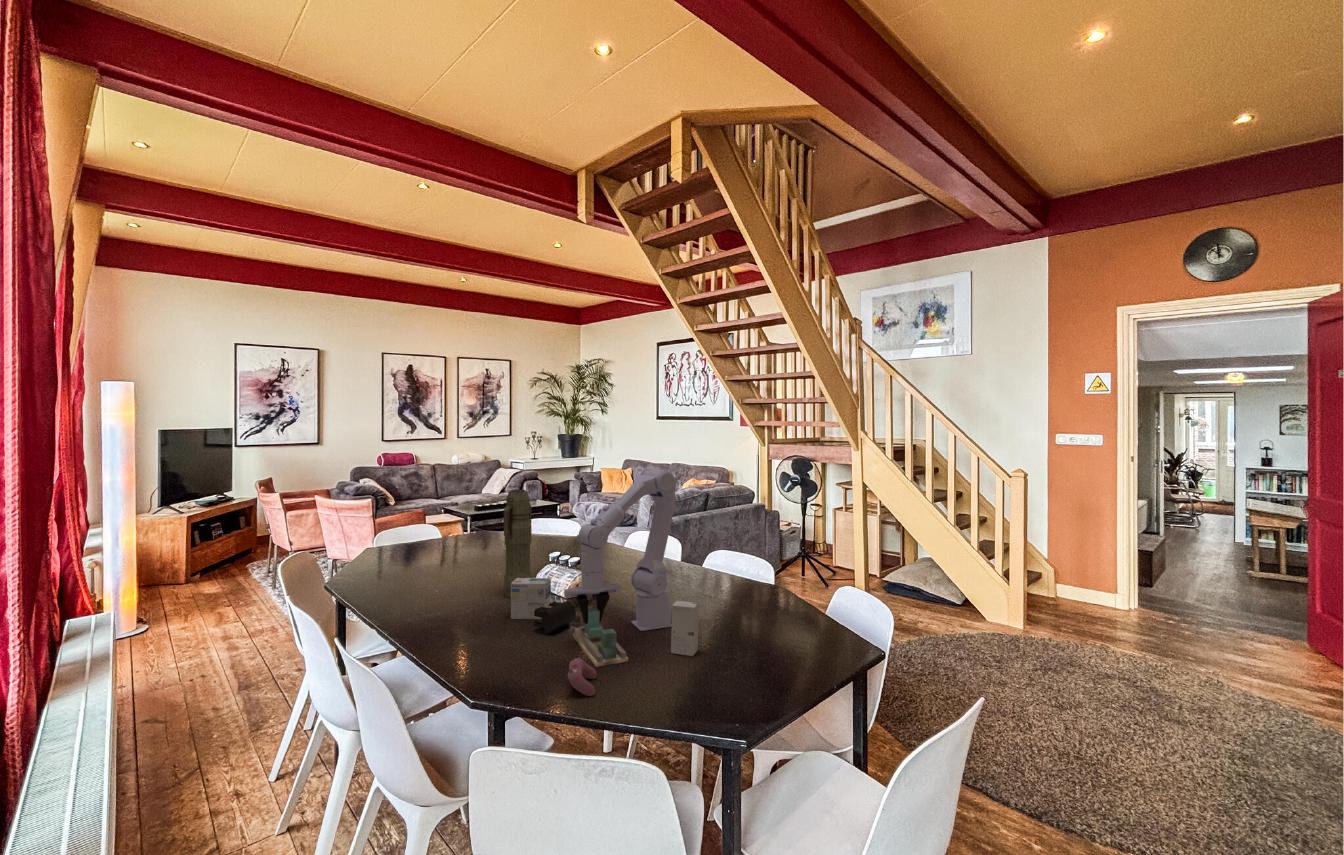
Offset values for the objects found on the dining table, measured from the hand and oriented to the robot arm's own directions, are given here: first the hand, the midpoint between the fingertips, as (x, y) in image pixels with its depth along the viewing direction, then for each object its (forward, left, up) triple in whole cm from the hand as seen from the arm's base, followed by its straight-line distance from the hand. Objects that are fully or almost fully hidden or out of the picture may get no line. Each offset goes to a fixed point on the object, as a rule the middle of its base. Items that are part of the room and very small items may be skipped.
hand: (592, 621), depth 157 cm
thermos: (+11, -51, -5) cm, 52 cm away
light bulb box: (+11, -27, -5) cm, 30 cm away
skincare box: (-19, +17, -5) cm, 26 cm away
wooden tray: (0, +6, -5) cm, 8 cm away
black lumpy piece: (+7, -13, -5) cm, 16 cm away
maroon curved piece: (+10, +26, -5) cm, 29 cm away
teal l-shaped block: (0, +1, -3) cm, 3 cm away
